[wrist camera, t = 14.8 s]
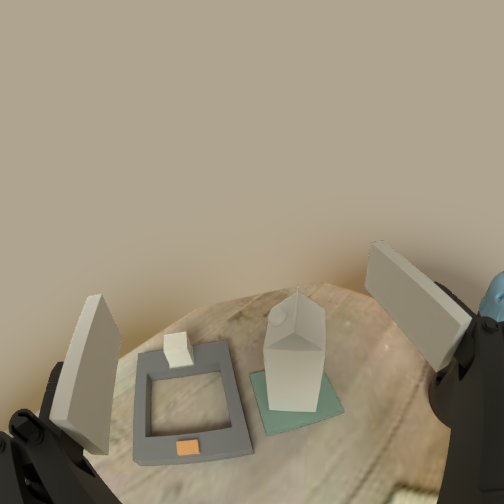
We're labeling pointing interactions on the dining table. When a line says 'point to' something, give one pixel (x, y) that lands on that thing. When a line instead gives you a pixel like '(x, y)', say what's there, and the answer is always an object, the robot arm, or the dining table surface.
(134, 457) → the grey open frame
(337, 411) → the felt pad
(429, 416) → the dining table surface
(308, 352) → the milk carton
